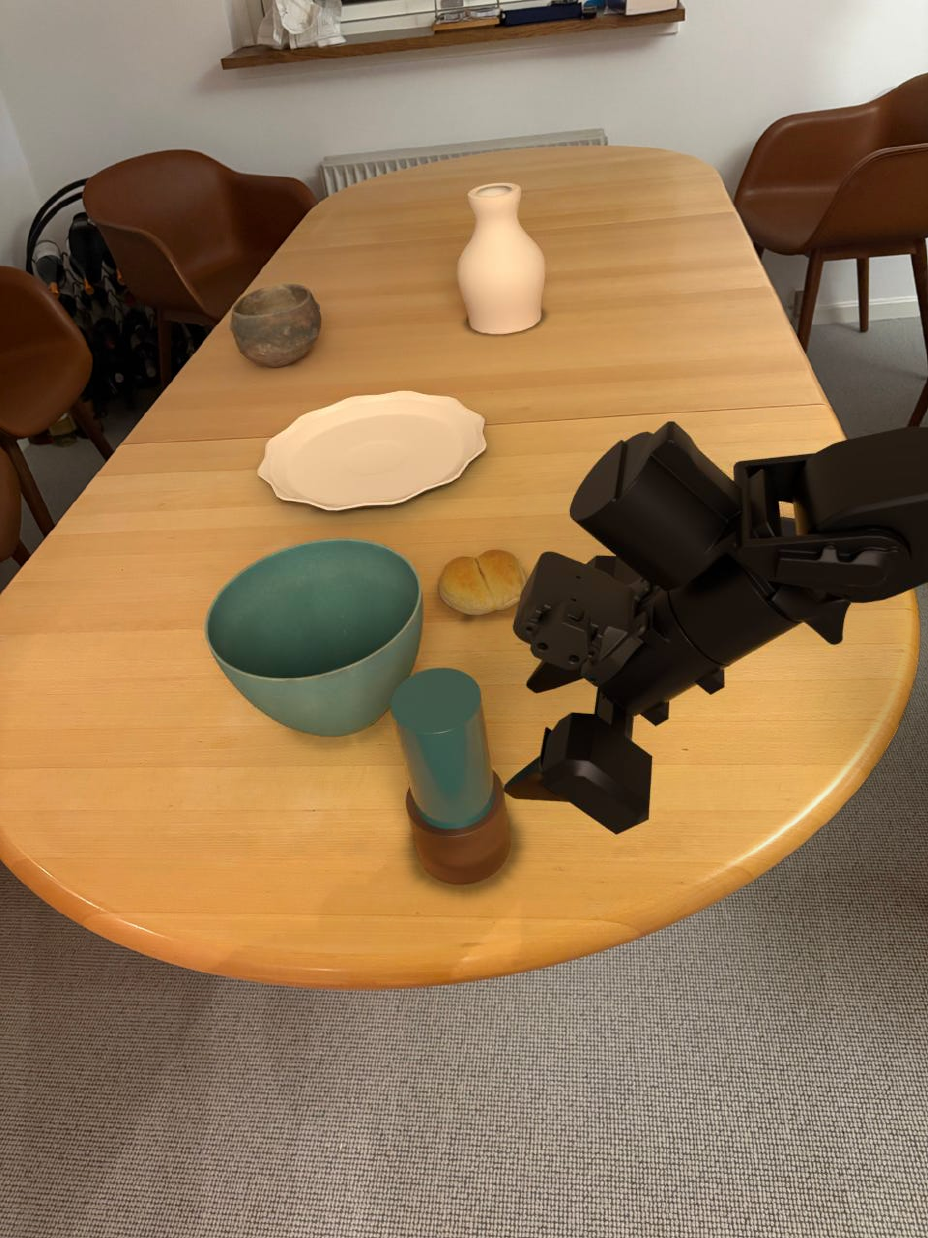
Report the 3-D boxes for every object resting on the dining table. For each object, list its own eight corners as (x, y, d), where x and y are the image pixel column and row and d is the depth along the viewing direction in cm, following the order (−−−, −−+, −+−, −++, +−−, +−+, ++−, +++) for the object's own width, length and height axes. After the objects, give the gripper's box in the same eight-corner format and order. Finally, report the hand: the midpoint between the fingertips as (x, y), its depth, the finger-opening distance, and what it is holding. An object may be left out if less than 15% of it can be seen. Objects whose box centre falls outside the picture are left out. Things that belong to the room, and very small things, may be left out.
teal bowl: (459, 752, 75) (439, 646, 67) (247, 804, 73) (201, 701, 65) (422, 621, 89) (402, 520, 81) (243, 662, 87) (205, 563, 79)
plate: (532, 464, 109) (530, 447, 108) (318, 554, 100) (313, 537, 98) (419, 386, 130) (417, 371, 128) (233, 456, 120) (228, 440, 119)
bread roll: (435, 578, 94) (430, 547, 91) (517, 562, 94) (514, 531, 92) (446, 626, 88) (441, 595, 85) (534, 609, 88) (531, 577, 86)
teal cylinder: (508, 775, 65) (495, 678, 58) (474, 840, 61) (457, 743, 54) (435, 754, 67) (416, 659, 61) (399, 815, 63) (373, 720, 57)
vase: (449, 334, 143) (431, 204, 130) (481, 300, 153) (468, 176, 140) (531, 339, 138) (522, 204, 125) (559, 303, 148) (553, 174, 135)
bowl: (332, 335, 149) (319, 275, 142) (324, 374, 137) (309, 311, 131) (251, 345, 150) (234, 286, 143) (236, 385, 138) (217, 323, 131)
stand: (524, 821, 69) (518, 771, 65) (487, 897, 64) (479, 849, 60) (442, 796, 72) (432, 747, 68) (401, 868, 67) (388, 819, 63)
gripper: (612, 442, 53) (456, 579, 63) (579, 653, 39) (385, 786, 49) (737, 552, 56) (570, 666, 66) (746, 781, 43) (534, 882, 52)
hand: (520, 737), depth 58 cm, fingers open, 9 cm apart
